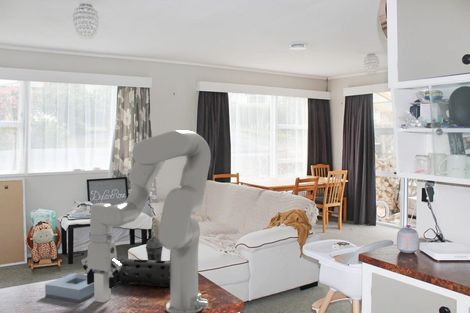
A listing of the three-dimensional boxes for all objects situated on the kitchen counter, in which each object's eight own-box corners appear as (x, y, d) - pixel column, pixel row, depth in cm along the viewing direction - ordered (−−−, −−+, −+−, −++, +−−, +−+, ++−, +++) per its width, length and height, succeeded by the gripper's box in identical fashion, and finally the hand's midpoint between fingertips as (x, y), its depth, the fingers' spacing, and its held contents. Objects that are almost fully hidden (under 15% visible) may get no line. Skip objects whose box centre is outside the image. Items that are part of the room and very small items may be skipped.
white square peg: (111, 298, 149) (110, 267, 148) (103, 302, 145) (103, 271, 145) (102, 297, 150) (101, 266, 150) (94, 301, 146) (94, 269, 146)
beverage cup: (142, 275, 174) (142, 228, 174) (151, 270, 181) (150, 225, 181) (158, 277, 172) (157, 229, 172) (166, 271, 179) (165, 226, 179)
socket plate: (106, 289, 158) (105, 277, 158) (79, 302, 145) (79, 289, 145) (73, 284, 164) (73, 273, 164) (45, 296, 151) (45, 284, 151)
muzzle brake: (168, 291, 156) (168, 264, 155) (100, 287, 161) (100, 260, 161) (177, 283, 165) (176, 257, 165) (112, 279, 171) (112, 254, 170)
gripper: (128, 238, 147) (128, 285, 148) (89, 233, 154) (89, 278, 154) (114, 242, 140) (114, 292, 141) (74, 237, 147) (75, 285, 147)
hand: (101, 285), depth 148 cm, fingers open, 9 cm apart
